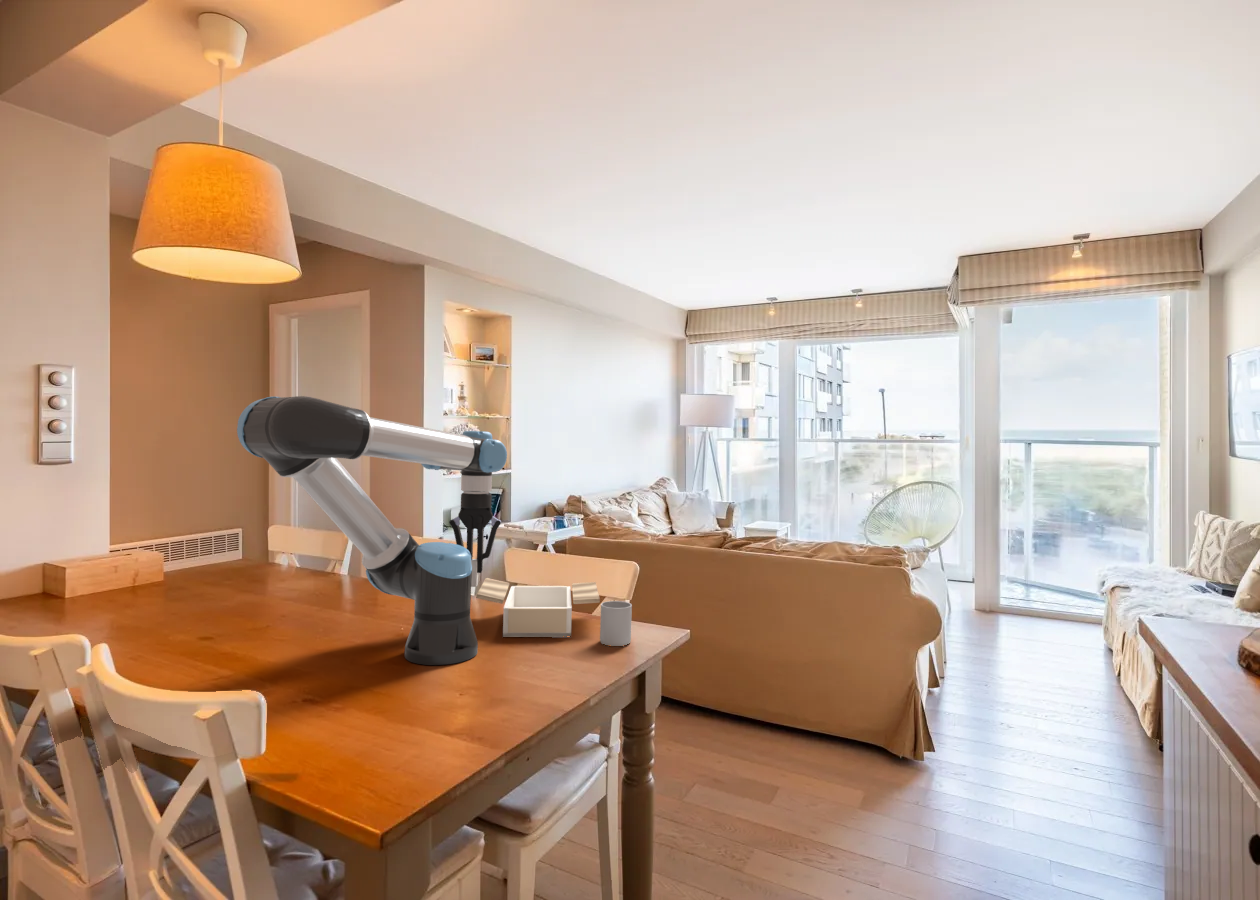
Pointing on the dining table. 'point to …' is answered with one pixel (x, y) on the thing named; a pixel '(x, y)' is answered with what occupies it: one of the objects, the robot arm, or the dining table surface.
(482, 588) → the flap
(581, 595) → the flap
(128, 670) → the dining table surface
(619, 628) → the cup
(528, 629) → the carton
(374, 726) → the dining table surface
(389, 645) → the dining table surface
